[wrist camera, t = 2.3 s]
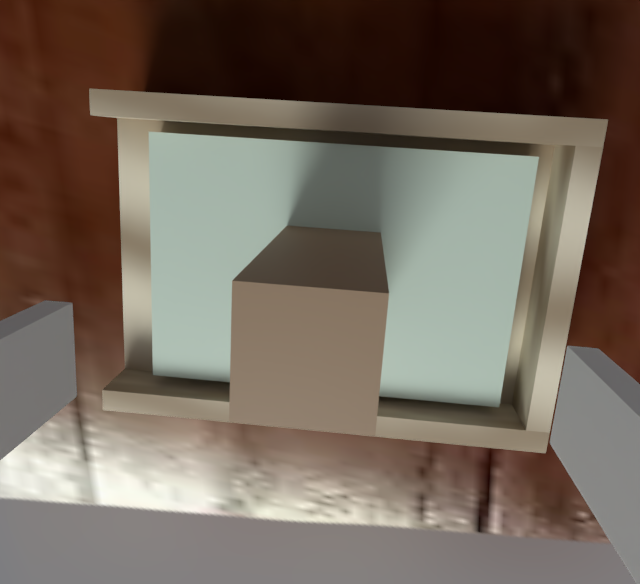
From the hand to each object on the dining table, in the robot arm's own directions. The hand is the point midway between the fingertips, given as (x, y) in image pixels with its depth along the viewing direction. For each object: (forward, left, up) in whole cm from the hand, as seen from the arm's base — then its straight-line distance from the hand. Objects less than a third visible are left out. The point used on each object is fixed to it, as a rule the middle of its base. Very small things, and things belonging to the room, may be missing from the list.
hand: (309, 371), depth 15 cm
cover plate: (0, 0, -11) cm, 11 cm away
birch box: (0, 0, -14) cm, 14 cm away
